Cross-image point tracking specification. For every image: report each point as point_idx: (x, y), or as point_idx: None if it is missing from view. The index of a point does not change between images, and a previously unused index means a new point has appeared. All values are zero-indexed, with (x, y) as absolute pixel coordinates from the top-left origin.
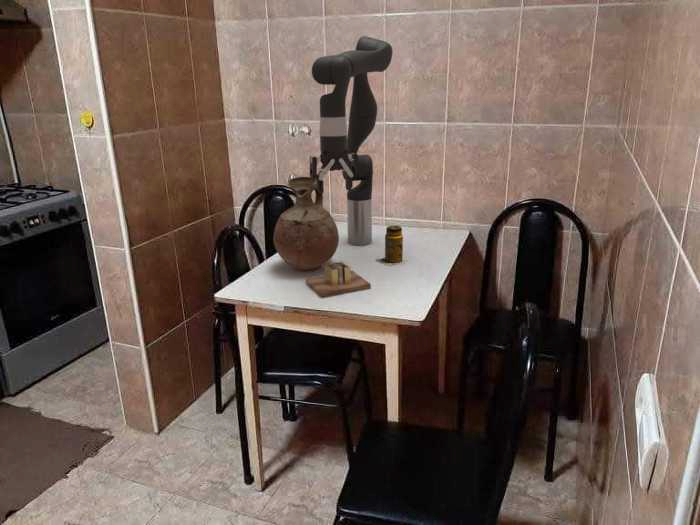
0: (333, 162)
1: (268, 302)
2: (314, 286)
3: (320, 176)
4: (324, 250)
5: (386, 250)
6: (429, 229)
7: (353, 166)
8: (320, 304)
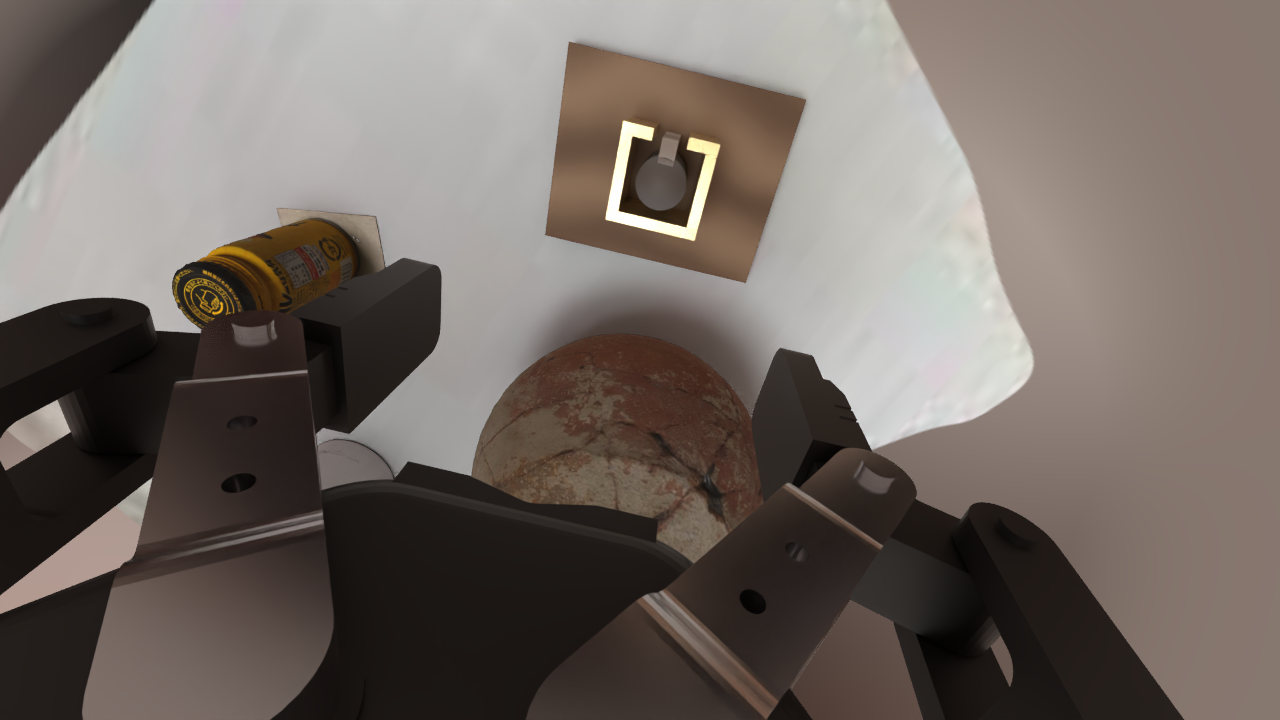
0: (592, 672)
1: (977, 208)
2: (774, 188)
3: (886, 499)
4: (623, 338)
5: (329, 274)
6: (60, 423)
7: (29, 500)
8: (854, 36)
